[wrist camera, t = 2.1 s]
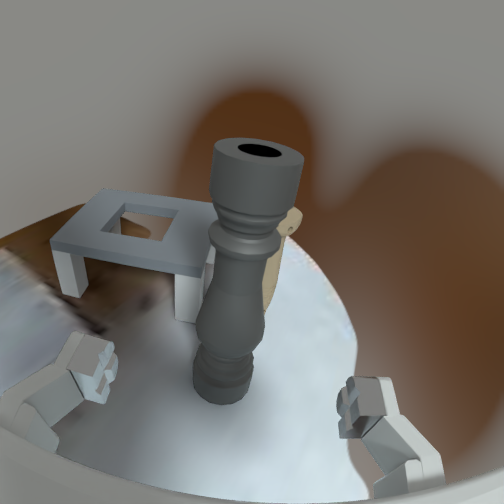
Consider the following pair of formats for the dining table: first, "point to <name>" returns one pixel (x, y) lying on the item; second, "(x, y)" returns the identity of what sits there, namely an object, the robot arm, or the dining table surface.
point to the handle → (278, 255)
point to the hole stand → (139, 244)
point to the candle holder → (241, 259)
